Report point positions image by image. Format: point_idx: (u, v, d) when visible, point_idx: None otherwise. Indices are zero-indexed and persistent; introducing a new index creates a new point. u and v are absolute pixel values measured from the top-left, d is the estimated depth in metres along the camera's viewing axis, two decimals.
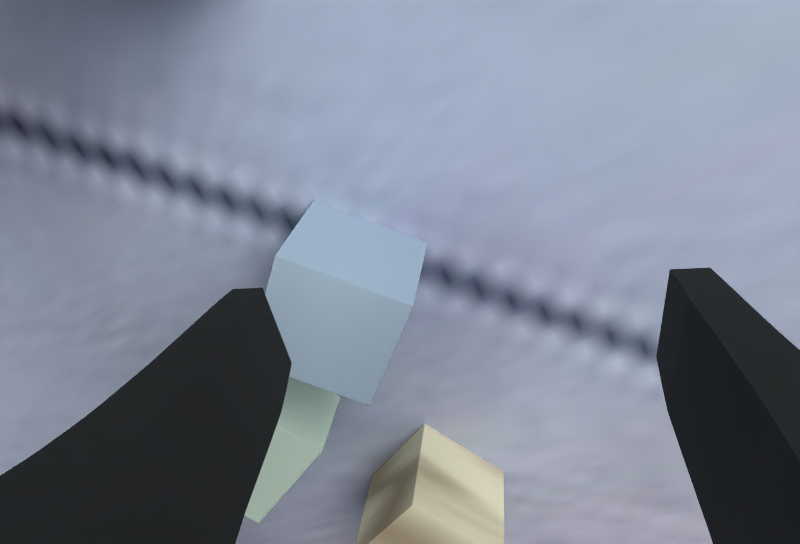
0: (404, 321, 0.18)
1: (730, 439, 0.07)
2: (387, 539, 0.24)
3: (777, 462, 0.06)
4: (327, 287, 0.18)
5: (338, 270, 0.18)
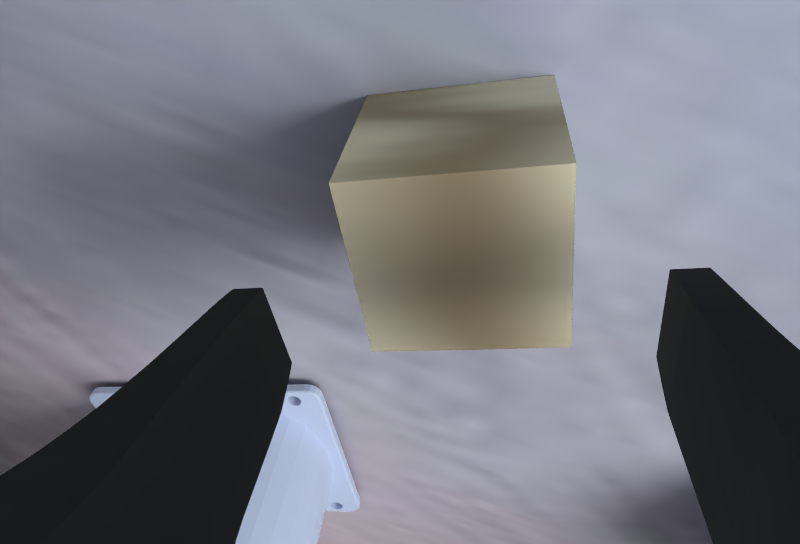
0: None
1: (730, 438, 0.07)
2: (441, 194, 0.11)
3: (777, 462, 0.06)
4: None
5: None
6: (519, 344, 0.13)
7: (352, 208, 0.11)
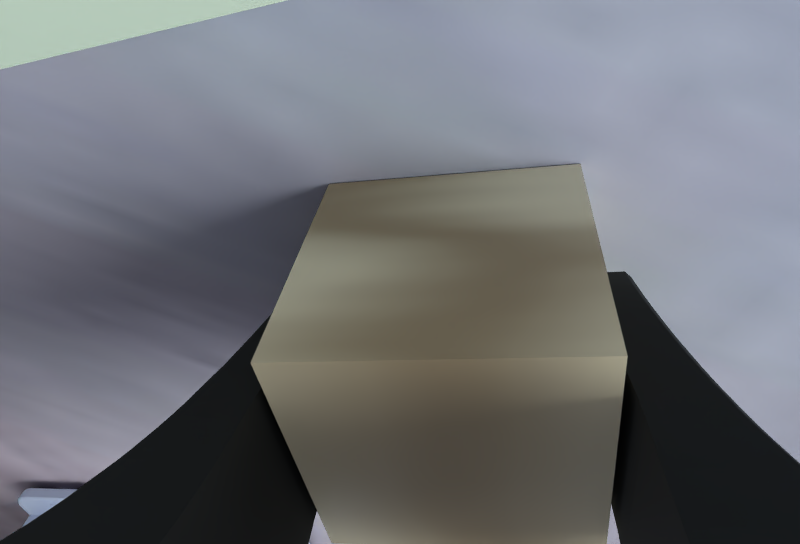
0: None
1: (624, 438, 0.08)
2: (418, 383, 0.07)
3: (649, 460, 0.06)
4: None
5: None
6: None
7: (289, 393, 0.08)
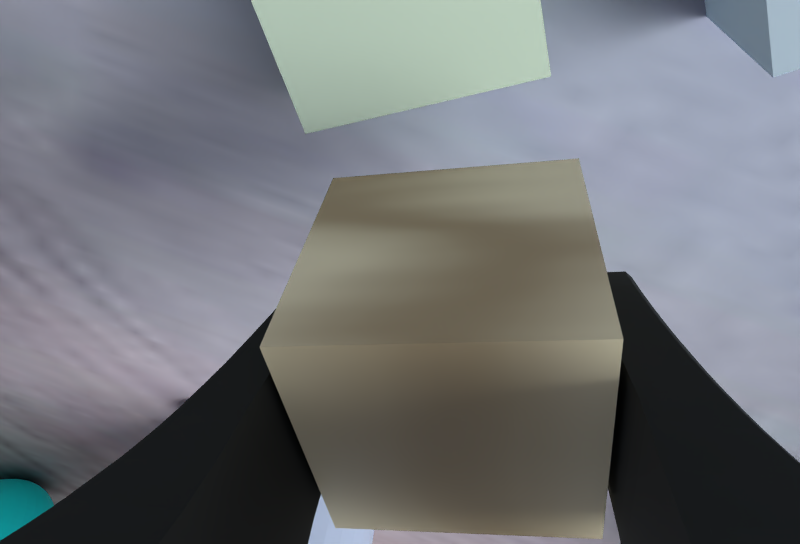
0: None
1: (625, 438, 0.08)
2: (422, 366, 0.07)
3: (650, 460, 0.06)
4: None
5: None
6: (531, 532, 0.10)
7: (296, 377, 0.08)
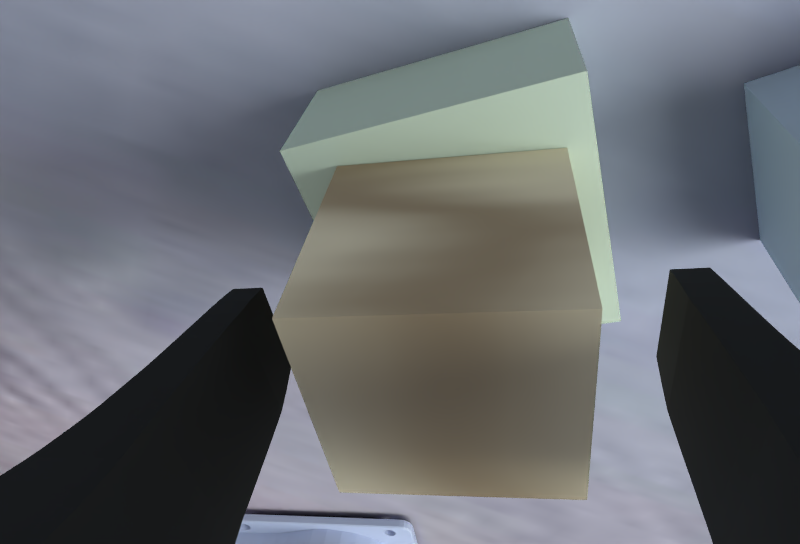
0: None
1: (730, 439, 0.07)
2: (420, 336, 0.08)
3: (777, 462, 0.06)
4: None
5: None
6: (521, 494, 0.10)
7: (305, 346, 0.09)
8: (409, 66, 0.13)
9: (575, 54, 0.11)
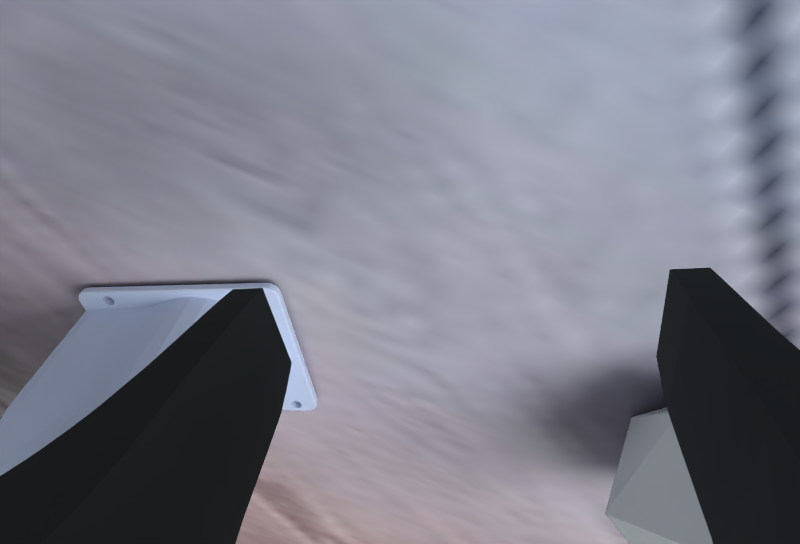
0: None
1: (730, 439, 0.07)
2: None
3: (777, 462, 0.06)
4: None
5: None
6: None
7: None
8: None
9: None
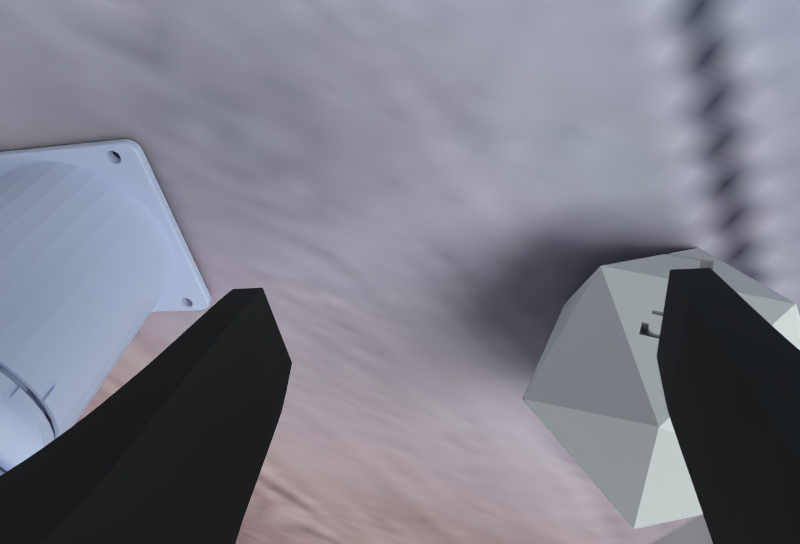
0: None
1: (731, 439, 0.07)
2: None
3: (777, 462, 0.06)
4: None
5: None
6: None
7: None
8: None
9: None
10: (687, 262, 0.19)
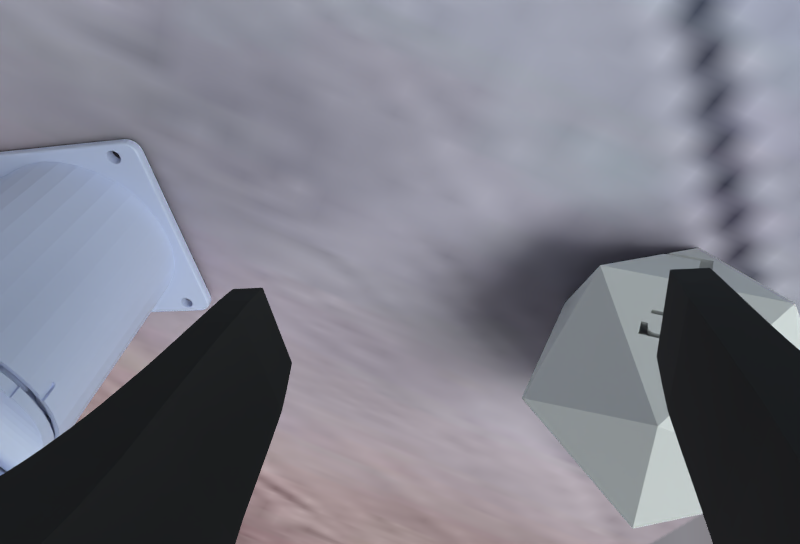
0: None
1: (731, 439, 0.07)
2: None
3: (777, 462, 0.06)
4: None
5: None
6: None
7: None
8: None
9: None
10: (687, 262, 0.19)
